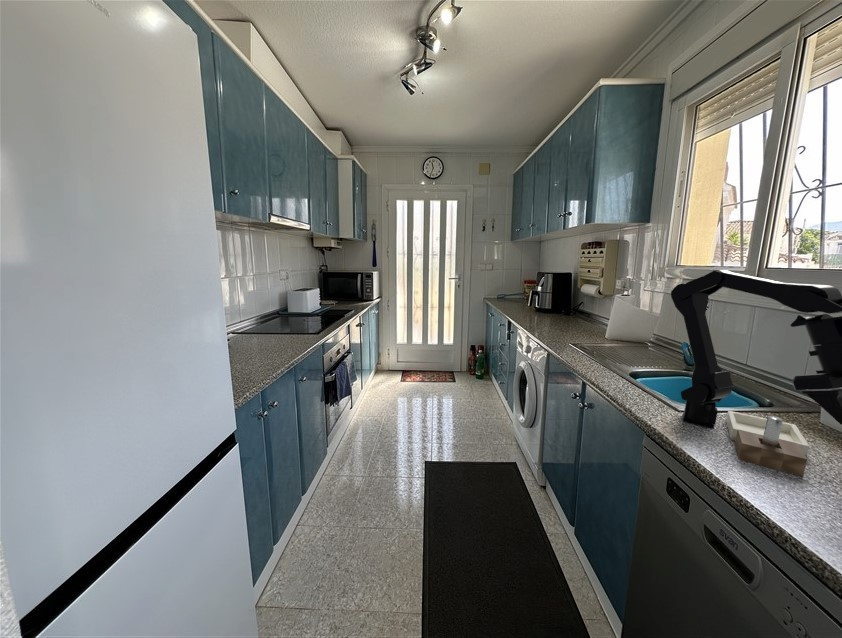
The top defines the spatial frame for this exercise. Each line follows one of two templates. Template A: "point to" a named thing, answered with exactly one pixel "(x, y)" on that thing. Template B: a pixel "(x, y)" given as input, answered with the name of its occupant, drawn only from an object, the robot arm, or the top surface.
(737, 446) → the block
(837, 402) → the robot arm
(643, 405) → the top surface
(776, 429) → the lock pin
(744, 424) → the tray
